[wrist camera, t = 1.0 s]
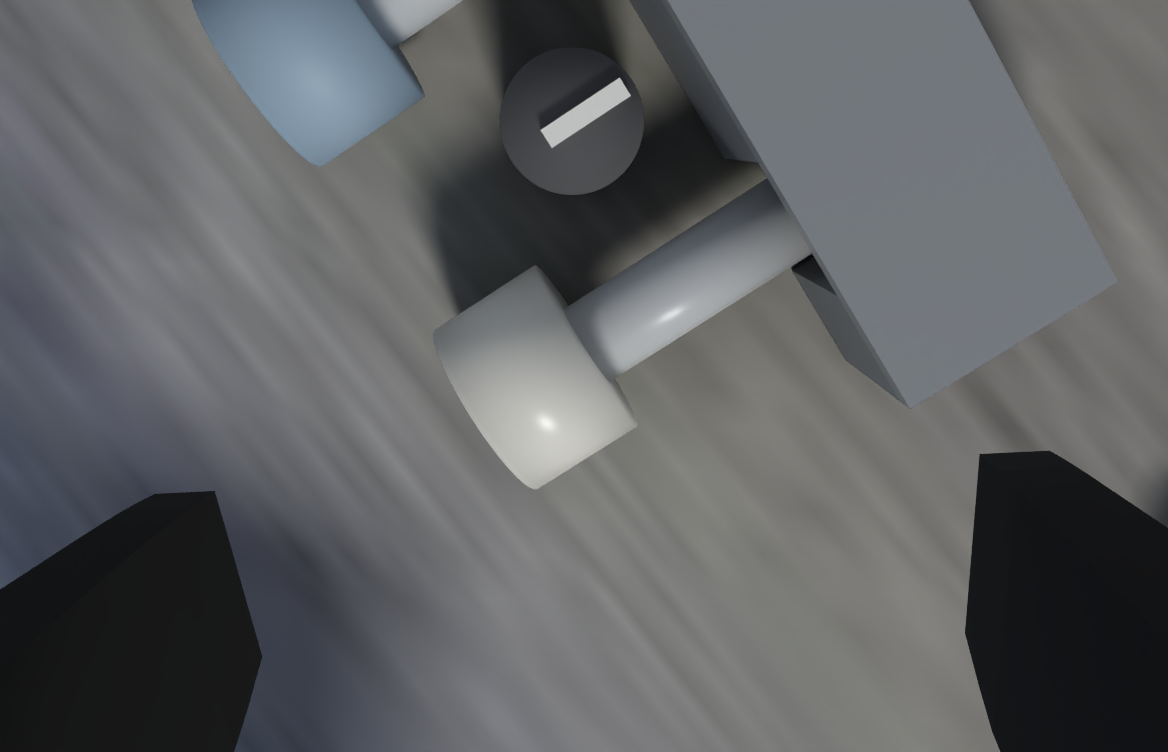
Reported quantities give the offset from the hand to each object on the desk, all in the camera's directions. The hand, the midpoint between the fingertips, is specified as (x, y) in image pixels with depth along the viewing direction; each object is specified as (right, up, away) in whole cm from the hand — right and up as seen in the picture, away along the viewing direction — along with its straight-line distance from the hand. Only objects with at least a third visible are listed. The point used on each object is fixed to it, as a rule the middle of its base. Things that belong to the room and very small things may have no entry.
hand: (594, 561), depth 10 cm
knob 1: (-3, +10, +13) cm, 17 cm away
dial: (0, +7, +14) cm, 15 cm away
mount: (+4, +10, +13) cm, 17 cm away
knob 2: (+1, +4, +14) cm, 15 cm away
